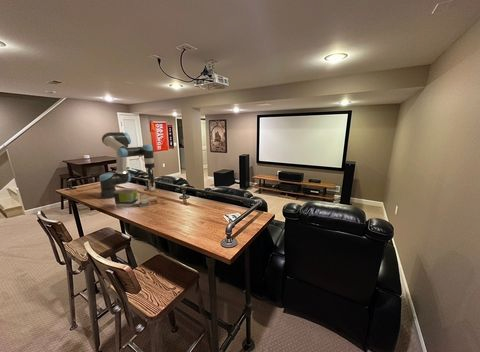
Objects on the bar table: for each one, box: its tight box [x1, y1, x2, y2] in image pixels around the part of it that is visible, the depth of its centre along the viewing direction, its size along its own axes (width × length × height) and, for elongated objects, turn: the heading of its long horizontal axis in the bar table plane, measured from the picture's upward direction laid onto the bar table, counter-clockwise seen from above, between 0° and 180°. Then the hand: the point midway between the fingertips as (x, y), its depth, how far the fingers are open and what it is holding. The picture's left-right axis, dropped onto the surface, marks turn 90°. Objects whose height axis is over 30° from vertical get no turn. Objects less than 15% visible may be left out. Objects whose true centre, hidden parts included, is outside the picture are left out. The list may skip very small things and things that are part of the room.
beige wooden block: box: [147, 179, 156, 193], centre depth 168 cm, size 4×4×10 cm
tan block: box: [139, 192, 148, 205], centre depth 166 cm, size 4×4×10 cm
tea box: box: [113, 187, 139, 208], centre depth 168 cm, size 15×10×15 cm, turn 84°
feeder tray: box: [147, 196, 158, 201], centre depth 179 cm, size 9×10×3 cm
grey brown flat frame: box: [138, 199, 160, 208], centre depth 169 cm, size 9×15×3 cm, turn 123°
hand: (152, 189), depth 168 cm, fingers closed on beige wooden block, 4 cm apart
